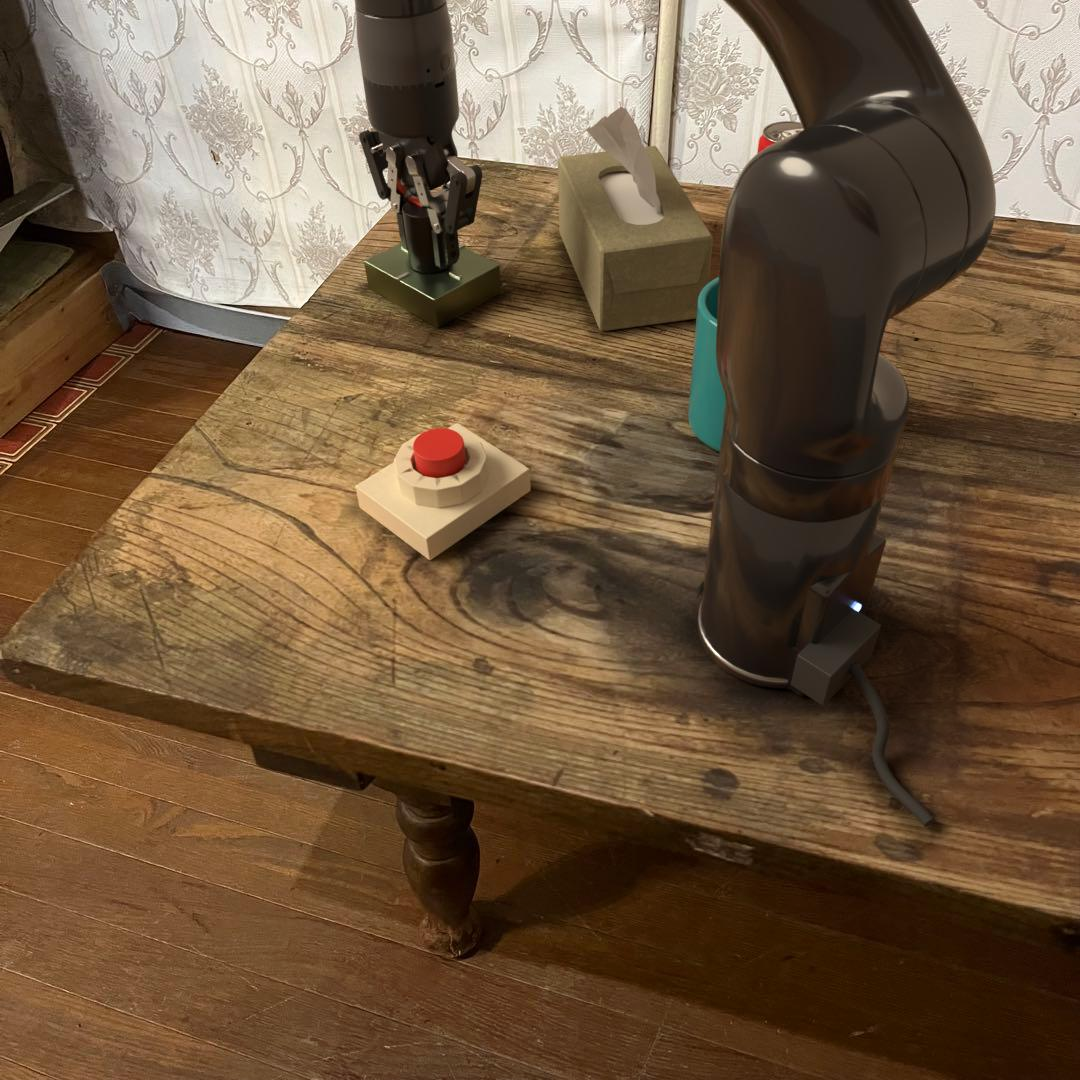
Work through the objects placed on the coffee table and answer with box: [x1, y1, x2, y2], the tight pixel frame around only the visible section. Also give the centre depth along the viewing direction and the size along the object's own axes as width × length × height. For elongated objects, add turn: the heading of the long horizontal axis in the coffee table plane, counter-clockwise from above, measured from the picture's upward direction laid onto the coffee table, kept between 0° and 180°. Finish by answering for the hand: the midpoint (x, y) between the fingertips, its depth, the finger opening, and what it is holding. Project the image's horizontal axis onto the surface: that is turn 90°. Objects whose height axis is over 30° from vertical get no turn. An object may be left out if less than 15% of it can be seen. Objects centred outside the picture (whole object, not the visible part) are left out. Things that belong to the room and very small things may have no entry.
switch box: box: [354, 422, 532, 561], centre depth 76 cm, size 8×10×4 cm
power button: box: [413, 427, 466, 478], centre depth 74 cm, size 4×4×2 cm
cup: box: [687, 276, 726, 453], centre depth 77 cm, size 9×12×11 cm
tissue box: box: [557, 106, 714, 332], centre depth 93 cm, size 19×10×16 cm, turn 11°
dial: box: [402, 195, 447, 273], centre depth 93 cm, size 4×4×6 cm
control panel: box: [363, 242, 502, 329], centre depth 96 cm, size 10×8×3 cm
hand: (430, 255), depth 95 cm, fingers closed on dial, 4 cm apart
